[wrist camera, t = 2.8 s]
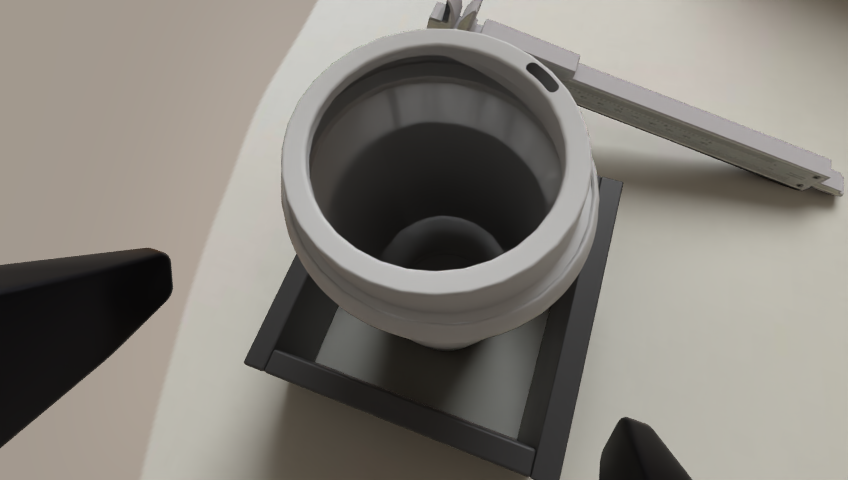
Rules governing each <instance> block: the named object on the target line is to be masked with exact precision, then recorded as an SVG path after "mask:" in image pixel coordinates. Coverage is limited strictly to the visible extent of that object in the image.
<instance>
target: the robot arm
mask: <svg viewBox="0 0 848 480" xmlns="http://www.w3.org/2000/svg"><path fill="white" fill-rule="evenodd" d="M172 290H173V282H172V271H171V260H170V258H169V256H168V255H167V254H166V253H163V252H160V251H158V250H155V249H151V248H142V249H133V250H124V251H116V252H107V253H99V254H90V255H82V256H73V257H65V258H56V259H48V260H39V261H31V262H23V263H14V264H5V265H0V448H1V447H2V446H3V445H4V444H6V443H7V442H8V441H9V440H11V439H12V438H13V437H14V436H15V435H17V434H18V433H19V432H20V431H21V430H23V429H24V428H25V427H26V426H27V425H29V424H30V423H31V422H32V421H33V420H35V419H36V418H37V417H38V416H39V415H41V414H42V413H43V412H44V411H45V410H47V409H48V408H49V407H50V406H51V405H53V404H54V403H55V402H56V401H57V400H59V399H60V398H61V397H62V396H63V395H65V394H66V393H67V392H68V391H69V390H71V389H72V388H73V387H74V386H75V385H76V384H77V383H79V382H80V381H81V380H83V379H84V378H85V377H86V376H87V375H89V374H90V373H91V372H92V371H93V370H94V369H96V368H97V367H98V366H99V365H100V364H101V363H103V362H104V361H105V360H106V359H107V358H109V357H110V356H111V355H112V354H113V353H114V352H115V351H116V350H117V349H118V348H119V347H120V346H121V345H122V344H123V343H124V342H125V341H126V340H127V339H128V338H129V337H130V336H131V335H133V334H134V332H136V331H137V330H138V329H139V328H140V327H141V325H143V323H145V322H146V321H147V320H148V319H149V318H150V317H151V316H152V315H153V314H154V313H155V312H156V311H157V310H158V309H159V308H160V306H162V305H163V304H164V303H165V302H166V301H167V300H168V298H169V297H170V296H171V293H172ZM599 480H692V479H691V477H690V476H689V475H688V474H687V472H686V471H685V470H684V468H683V467H682V466H681V465H680V463H679V462H678V461H677V459H676V458H675V457H674V456H673V454H672V453H671V452H670V451H669V449H668V448H667V447H666V445H665V444H664V443H663V442H662V440H661V439H660V438H659V436H658V435H657V434H656V433H655V431H654V430H653V429H652V428H651V427H650V426H649V425H647V424H645V423H642V422H639V421H637V420H634V419H631V418H628V417H624V418H621V419H620V420H619V422H618V423H617V425H616V427H615V429H614V431H613V432H612V434H611V436H610V438H609V440H608V441H607V443H606V445H605V447H604V449H603V452H602V455H601V460H600V474H599Z"/></svg>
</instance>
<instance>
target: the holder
mask: <svg viewBox="0 0 848 480" xmlns="http://www.w3.org/2000/svg"><path fill="white" fill-rule="evenodd" d="M597 180H598V189H599V199H600V200H599V207H598V221H597V227H596V233H595V237H594V241H593V244H592V247H591V250H590V252H589V255H588V257H587V259H586V261H585V263H584V265H583V267H582V269H581V271H580V273H579V274H578V276H577V277H576V279H575V280H574V281H573V283H572V284H571V285H570V287H569V288H568V289H567V290H566V292H565V293H564V294H563V295H562V296H561V297H560V298H559V299H558V300H557V301H556V302H555V303H554V304H552V305H551V308H550V312H549V316H548V320H547V324H546V327H545V331H544V335H543V339H542V343H541V347H540V351H539V355H538V359H537V363H536V367H535V371H534V375H533V379H532V383H531V387H530V391H529V394H528V398H527V402H526V406H525V410H524V414H523V418H522V422H521V426H520V430H519V434H518V438H517V440H516V439H514V438H511V437H508V436H506V435H503V434H501V433H498V432H495V431H493V430H490V429H488V428H485V427H482V426H480V425H477V424H474V423H472V422H469V421H467V420H464V419H461V418H459V417H456V416H454V415H451V414H448V413H446V412H443V411H441V410H438V409H435V408H433V407H430V406H428V405H425V404H422V403H420V402H417V401H415V400H412V399H409V398H407V397H404V396H402V395H399V394H396V393H394V392H391V391H389V390H386V389H383V388H381V387H378V386H376V385H373V384H370V383H368V382H365V381H362V380H360V379H357V378H355V377H352V376H349V375H347V374H344V373H342V372H339V371H336V370H334V369H331V368H329V367H326V366H323V365H321V364H318V363H316V362H314V361H315V358H316V356H317V354H318V351H319V349H320V347H321V344H322V342H323V340H324V337H325V335H326V333H327V330H328V328H329V326H330V324H331V321H332V319H333V317H334V314H335V312H336V310H337V307H338V304H336V303H335V302H334V301H333V300H332V299H331V298H330V297H329V296H328V295H326V294H325V293H324V291H323V290H322V289H321V288H320V287H319V286H318V285H317V284H316V283H315V281H314V280H313V279H312V277H311V276H310V275H309V273H308V272H307V270H306V269H305V267H304V266H303V264H302V263H301V261H300V259H299V257H298V255H297V254H296V256H295V258H294V260H293V262H292V264H291V266H290V268H289V270H288V272H287V274H286V277H285V279H284V281H283V283H282V285H281V287H280V289H279V291H278V293H277V295H276V297H275V299H274V301H273V303H272V305H271V307H270V309H269V311H268V313H267V315H266V318H265V320H264V322H263V324H262V326H261V328H260V330H259V332H258V334H257V336H256V338H255V340H254V342H253V344H252V346H251V348H250V350H249V352H248V354H247V357H246V359H245V361H244V363H245V364H246V365H248V366H250V367H253V368H255V369H258V370H260V371H265V372H266V373H268V374H270V375H273V376H276V377H278V378H281V379H283V380H286V381H288V382H291V383H293V384H296V385H298V386H301V387H303V388H306V389H308V390H311V391H313V392H316V393H318V394H321V395H323V396H326V397H328V398H331V399H333V400H336V401H338V402H341V403H343V404H346V405H348V406H351V407H353V408H356V409H358V410H361V411H363V412H366V413H368V414H371V415H373V416H376V417H378V418H381V419H383V420H386V421H388V422H391V423H393V424H396V425H398V426H401V427H403V428H406V429H408V430H411V431H413V432H416V433H418V434H421V435H423V436H426V437H429V438H431V439H434V440H436V441H439V442H441V443H444V444H446V445H449V446H451V447H454V448H456V449H459V450H461V451H464V452H466V453H469V454H471V455H474V456H476V457H479V458H481V459H484V460H486V461H489V462H491V463H494V464H496V465H499V466H501V467H504V468H506V469H509V470H511V471H514V472H516V473H519V474H521V475H524V476H526V477H530V478H532V479H533V480H559V479H560V475H561V470H562V465H563V461H564V456H565V452H566V447H567V442H568V438H569V433H570V428H571V424H572V419H573V414H574V410H575V405H576V400H577V396H578V391H579V387H580V382H581V377H582V373H583V368H584V363H585V359H586V354H587V349H588V345H589V340H590V335H591V331H592V326H593V322H594V317H595V312H596V308H597V303H598V298H599V294H600V289H601V284H602V280H603V275H604V270H605V266H606V261H607V256H608V252H609V247H610V243H611V238H612V233H613V229H614V224H615V219H616V215H617V210H618V205H619V201H620V196H621V191H622V187H623V182H621V181H617V180H613V179H609V178H605V177H602V178H601V177H600V176H597Z"/></svg>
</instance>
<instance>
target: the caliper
mask: <svg viewBox="0 0 848 480" xmlns="http://www.w3.org/2000/svg"><path fill="white" fill-rule="evenodd" d="M481 3H482V0H473V1H472V2H471V3H470V4H469V5H468V6H467V8H466V9H465V11H464V13H463V16H462V17H461V16H460V13H461V9H462V0H447V3H446V4H443V3H440V2H437V3H436V5H435V7H434V9H433V11H432V13H431V15H430V18H429V21H428V25H427V29H458V30H464V31H469V32H475V33H480V34H484V35H487V36H490V37H493V38H496V39H499V40H501V41H504V42H507V43H509V44H511V45H513V46H515V47H517V48H519V49H520V50H522V51H524V52H526V53H528V54H530V55H531V56H533V57H534V58H535V59H536V60H538V61H539V62H540V63H542V64H543V65H544V66H545V67H547V68H548V69H549V70H550V71H552V72H553V74H554V75H555V76H556V77H557V78H558V79H559V80H560V81H561V83H562V84H563V85H564V86H565V87H566V88H567V89H568V91H569V92H570V94H571V96H572V97H573V99H574V101H575V102H576V104H577V105H578V106H580V107H583V108H586V109H588V110H591V111H594V112H596V113H599V114H601V115H604V116H607V117H609V118H612V119H615V120H617V121H620V122H622V123H625V124H628V125H630V126H633V127H635V128H638V129H641V130H643V131H646V132H649V133H651V134H654V135H656V136H659V137H662V138H664V139H667V140H670V141H672V142H675V143H677V144H680V145H682V146H685V147H687V148H690V149H693V150H695V151H698V152H700V153H703V154H705V155H708V156H711V157H713V158H716V159H718V160H721V161H723V162H726V163H728V164H731V165H734V166H736V167H739V168H741V169H744V170H746V171H749V172H752V173H754V174H757V175H759V176H762V177H764V178H767V179H770V180H772V181H775V182H777V183H780V184H782V185H785V186H787V187H790V188H793V189H796V190H800V191H803V190H805V189H808V188H810V187H813V188H816V189H818V190H820V191H823V192H825V193H828V194H831V195H834V196H843V189H844V177H843V176H842V173H840V172H837V171H835V170H832V169H831V159H829V158H826V157H823V156H821V155H818V154H816V153H813V152H810V151H808V150H805V149H803V148H800V147H797V146H795V145H792V144H790V143H787V142H784V141H782V140H779V139H777V138H774V137H772V136H769V135H766V134H764V133H761V132H759V131H756V130H753V129H751V128H748V127H746V126H743V125H740V124H738V123H735V122H733V121H730V120H727V119H725V118H722V117H719V116H717V115H714V114H712V113H709V112H706V111H704V110H701V109H698V108H696V107H693V106H691V105H688V104H685V103H683V102H680V101H678V100H675V99H672V98H670V97H667V96H664V95H662V94H659V93H657V92H654V91H651V90H649V89H646V88H643V87H641V86H638V85H636V84H633V83H630V82H628V81H625V80H622V79H620V78H617V77H615V76H612V75H609V74H607V73H604V72H601V71H599V70H596V69H594V68H591V67H588V66H586V65H583V64H580V63H578V62H579V59H580V55H579V54H576V53H574V52H571V51H569V50H566V49H564V48H561V47H559V46H556V45H554V44H551V43H549V42H546V41H543V40H541V39H538V38H536V37H533V36H531V35H528V34H526V33H523V32H521V31H518V30H516V29H513V28H511V27H508V26H506V25H503V24H501V23H498V22H496V21H493V20H489V19H487V20H486V21H485V23H484V25H478V24H477V21H478V20H477V19H476V15H477V13H478V11H479V9H480V6H481Z"/></svg>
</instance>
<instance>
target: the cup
mask: <svg viewBox="0 0 848 480" xmlns="http://www.w3.org/2000/svg"><path fill="white" fill-rule="evenodd" d="M281 167H282V172H281V200H282V207H283V211H284V216H285V221H286V225H287V229H288V234H289V236H290V239H291V242H292V244H293V246H294V249H295V251H296V253H297V255H298V257H299V259H300V261H301V263H302V264H303V266H304V267H305V269H306V270H307V272H308V273H309V275H310V276H311V277H312V279H313V280H314V281H315V283H316V284H317V285H318V286H319V287H320V288H321V289H322V290H323V291H324V293H325V294H326V295H328V296H329V297H330V298H331V299H332V300H333V301H334V302H335V303H336V304H338V305H339V306H340V307H341V308H343V309H344V310H345V311H347V312H348V313H350V314H351V315H353V316H355V317H356V318H358V319H360V320H361V321H363V322H365V323H367V324H369V325H371V326H373V327H375V328H377V329H380V330H382V331H385V332H388V333H391V334H394V335H397V336H400V337H404V338H408V339H410V340H412V341H414V342H416V343H418V344H421V345H423V346H425V347H427V348H430V349H434V350H439V351H453V350H458V349H462V348H465V347H467V346H469V345H471V344H474V343H476V342H478V341H480V340H482V339H485V338H489V337H492V336H496V335H499V334H502V333H505V332H507V331H510V330H513V329H515V328H517V327H519V326H521V325H523V324H525V323H527V322H528V321H530V320H532V319H533V318H535V317H537V316H538V315H540V314H541V313H543V312H544V311H545V310H546V309H548V308H549V307H550V306H551V305H552V304H554V303H555V302H556V301H557V300H558V299H559V298H560V297H561V296H562V295H563V294H564V293H565V292H566V290H567V289H568V288H569V287H570V285H571V284H572V283H573V281H574V280H575V279H576V277H577V276H578V274H579V273H580V271H581V269H582V267H583V265H584V263H585V261H586V259H587V257H588V255H589V252H590V250H591V247H592V244H593V241H594V237H595V233H596V227H597V221H598V207H599V200H600V199H599V189H598V180H597V171H596V167H595V164H594V161H593V158H592V151H591V142H590V137H589V134H588V130H587V127H586V124H585V121H584V118H583V115H582V113H581V111H580V109H579V108H578V106H577V104H576V102H575V101H574V99H573V97H572V96H571V94H570V92H569V91H568V89H567V88H566V87H565V86H564V85H563V84H562V83H561V81H560V80H559V79H558V78H557V77H556V76H555V75H554V74H553V72H552V71H550V70H549V69H548V68H547V67H545V66H544V65H543V64H542V63H540V62H539V61H538V60H536V59H535V58H534V57H533V56H531V55H530V54H528V53H526V52H524V51H522V50H520V49H519V48H517V47H515V46H513V45H511V44H509V43H507V42H504V41H501V40H499V39H496V38H493V37H490V36H487V35H484V34H480V33H475V32H469V31H464V30H458V29H419V30H411V31H403V32H399V33H396V34H392V35H389V36H385V37H381V38H378V39H375V40H373V41H371V42H369V43H366V44H364V45H362V46H360V47H358V48H355V49H353V50H352V51H350V52H349V53H347V54H346V55H344V56H343V57H341V58H340V59H338V60H337V61H335V62H334V63H332V64H331V65H330V66H329V67H328V68H327V69H326V70H325V71H324V72H322V73H321V74H320V75H319V76H318V77H317V78H316V79H315V80H314V81H313V82H312V84H311V85H310V86H309V88H308V89H307V90H306V92H305V93H304V94H303V96H302V97H301V99H300V100H299V101H298V103H297V106H296V108H295V110H294V112H293V114H292V116H291V118H290V120H289V122H288V125H287V129H286V133H285V137H284V142H283V146H282V158H281Z"/></svg>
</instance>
